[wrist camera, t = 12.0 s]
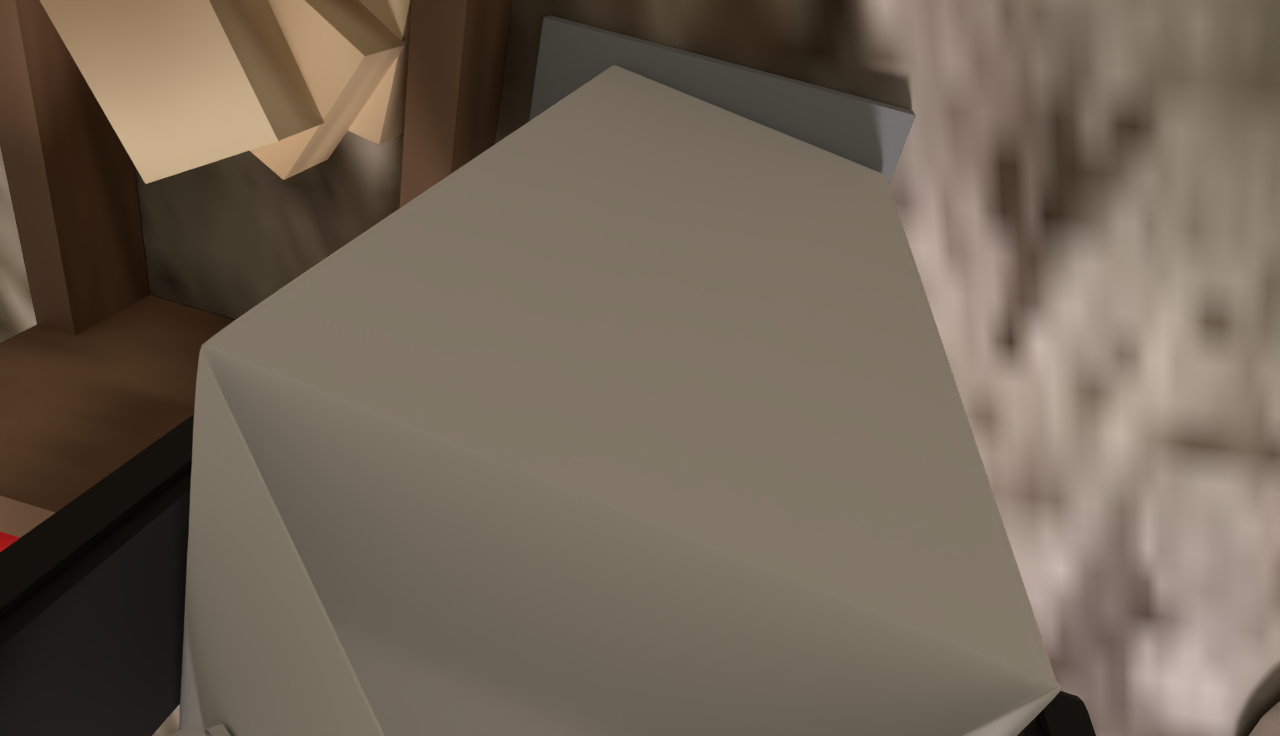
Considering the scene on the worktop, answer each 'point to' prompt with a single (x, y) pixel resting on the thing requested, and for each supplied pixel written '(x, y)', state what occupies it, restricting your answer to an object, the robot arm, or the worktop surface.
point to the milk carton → (604, 460)
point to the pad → (724, 91)
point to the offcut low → (387, 78)
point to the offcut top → (187, 77)
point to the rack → (114, 252)
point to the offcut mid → (329, 73)
